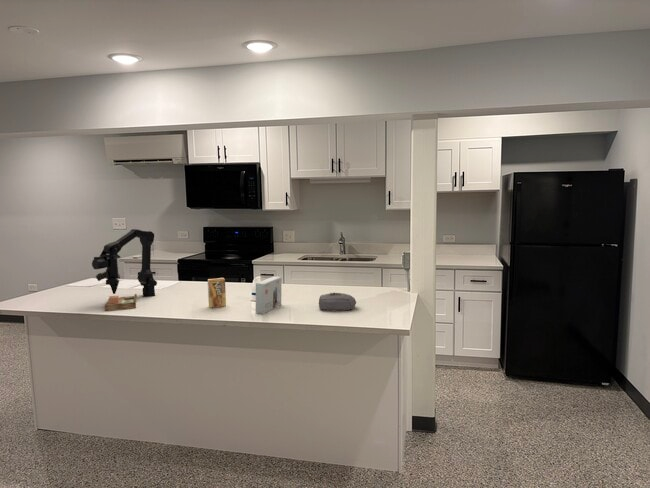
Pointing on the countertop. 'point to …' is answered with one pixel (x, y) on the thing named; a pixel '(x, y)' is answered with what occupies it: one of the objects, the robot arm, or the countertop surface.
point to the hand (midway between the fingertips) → (114, 293)
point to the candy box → (216, 292)
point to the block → (113, 299)
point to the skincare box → (268, 294)
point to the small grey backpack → (336, 301)
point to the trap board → (122, 303)
